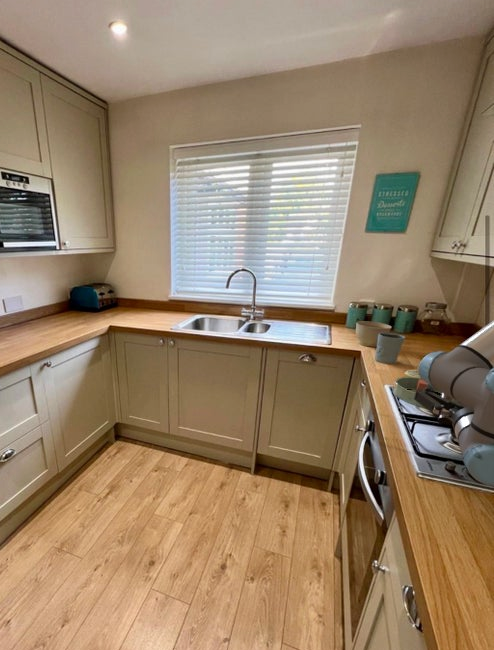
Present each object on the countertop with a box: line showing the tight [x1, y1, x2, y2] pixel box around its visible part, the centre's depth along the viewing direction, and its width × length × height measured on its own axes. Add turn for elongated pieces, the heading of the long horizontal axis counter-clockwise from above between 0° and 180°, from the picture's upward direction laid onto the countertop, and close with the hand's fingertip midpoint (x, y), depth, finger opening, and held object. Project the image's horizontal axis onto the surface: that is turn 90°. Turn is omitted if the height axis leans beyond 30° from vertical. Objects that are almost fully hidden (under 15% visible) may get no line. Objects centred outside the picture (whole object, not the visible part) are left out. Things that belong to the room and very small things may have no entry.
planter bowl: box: [355, 320, 392, 348], centre depth 174 cm, size 16×16×11 cm
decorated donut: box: [403, 369, 421, 378], centre depth 127 cm, size 10×11×4 cm
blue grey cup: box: [374, 332, 406, 365], centre depth 149 cm, size 10×10×12 cm
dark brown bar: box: [437, 392, 453, 426], centre depth 100 cm, size 3×3×15 cm
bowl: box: [392, 376, 460, 409], centre depth 112 cm, size 18×18×4 cm
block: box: [416, 379, 428, 391], centre depth 115 cm, size 4×4×4 cm
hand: (461, 392), depth 84 cm, fingers open, 13 cm apart
